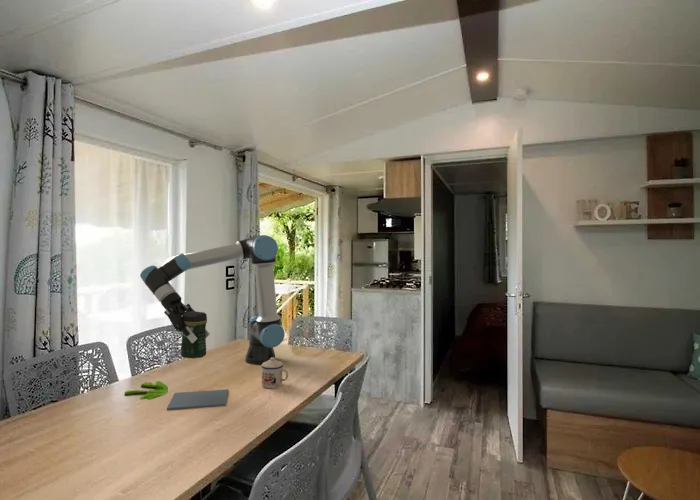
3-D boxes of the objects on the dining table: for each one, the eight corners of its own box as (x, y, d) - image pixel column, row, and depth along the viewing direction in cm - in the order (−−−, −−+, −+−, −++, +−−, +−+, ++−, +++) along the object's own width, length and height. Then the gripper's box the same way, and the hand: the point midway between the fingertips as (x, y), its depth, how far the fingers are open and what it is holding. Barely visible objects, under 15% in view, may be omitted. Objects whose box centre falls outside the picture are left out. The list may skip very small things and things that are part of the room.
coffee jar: (209, 355, 161) (210, 311, 161) (195, 360, 154) (196, 314, 154) (191, 352, 165) (193, 309, 165) (177, 357, 158) (178, 311, 158)
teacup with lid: (256, 387, 161) (257, 359, 161) (267, 380, 170) (268, 354, 170) (283, 391, 158) (283, 362, 158) (292, 383, 167) (293, 356, 167)
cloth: (152, 404, 144) (152, 397, 144) (102, 398, 148) (102, 391, 148) (185, 385, 164) (186, 379, 164) (141, 380, 168) (141, 375, 168)
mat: (227, 390, 157) (227, 389, 157) (225, 405, 142) (225, 403, 142) (174, 394, 152) (174, 392, 152) (166, 409, 137) (166, 408, 137)
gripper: (179, 300, 173) (210, 338, 169) (144, 306, 153) (178, 350, 149) (189, 288, 172) (221, 327, 168) (156, 294, 151) (191, 338, 148)
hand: (201, 338), depth 159 cm, fingers closed on coffee jar, 8 cm apart
